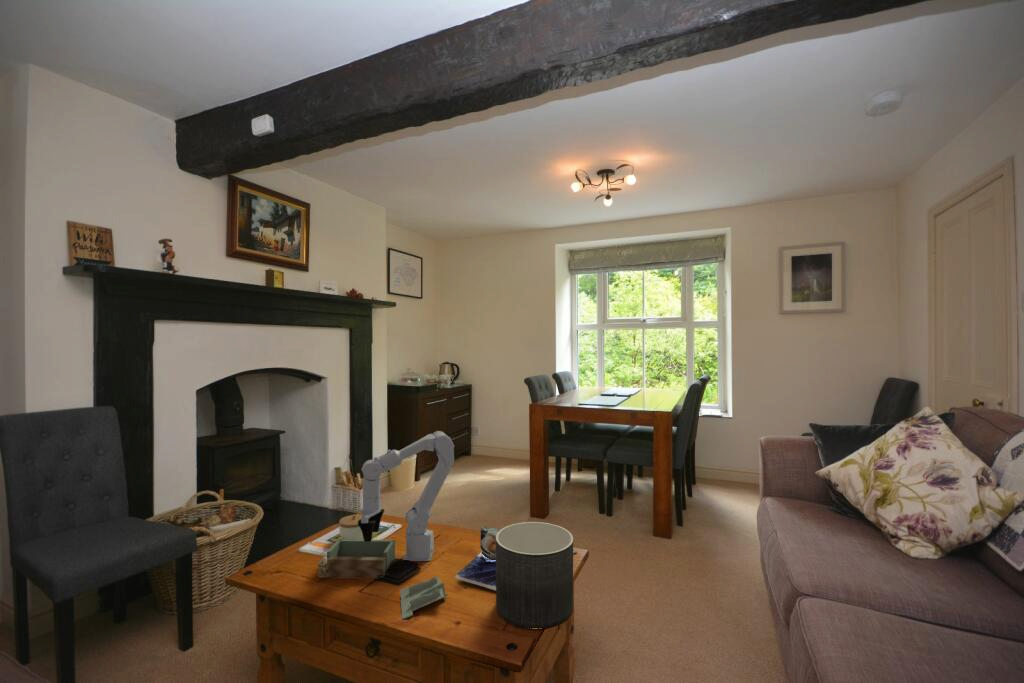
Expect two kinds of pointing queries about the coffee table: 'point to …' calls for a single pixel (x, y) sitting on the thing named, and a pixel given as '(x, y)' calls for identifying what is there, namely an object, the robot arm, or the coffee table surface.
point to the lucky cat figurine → (488, 542)
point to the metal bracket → (421, 596)
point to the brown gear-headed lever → (352, 567)
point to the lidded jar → (350, 527)
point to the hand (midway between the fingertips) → (371, 536)
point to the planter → (534, 575)
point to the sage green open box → (362, 549)
